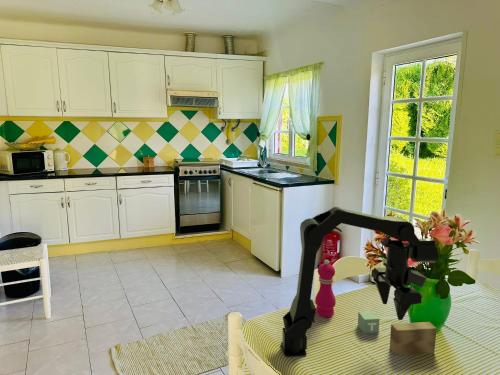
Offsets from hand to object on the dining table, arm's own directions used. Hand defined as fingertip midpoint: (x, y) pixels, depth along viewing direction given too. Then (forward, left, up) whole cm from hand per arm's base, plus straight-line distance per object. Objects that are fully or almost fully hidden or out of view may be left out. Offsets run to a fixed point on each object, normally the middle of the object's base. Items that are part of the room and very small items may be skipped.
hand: (392, 311), depth 103 cm
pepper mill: (-13, +22, -12) cm, 29 cm away
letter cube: (-2, +11, -12) cm, 16 cm away
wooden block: (+6, -2, -12) cm, 14 cm away
